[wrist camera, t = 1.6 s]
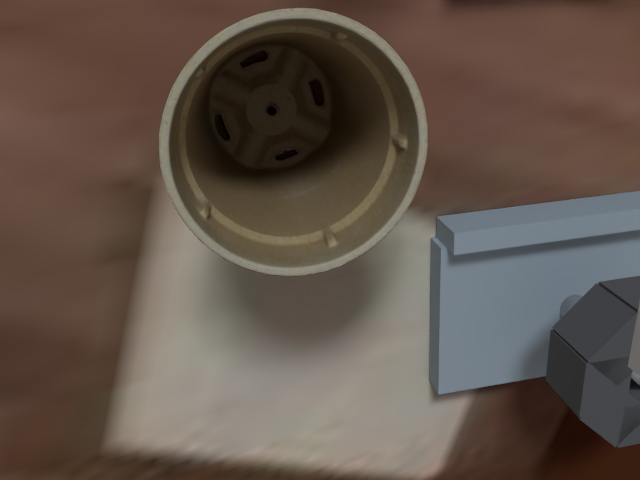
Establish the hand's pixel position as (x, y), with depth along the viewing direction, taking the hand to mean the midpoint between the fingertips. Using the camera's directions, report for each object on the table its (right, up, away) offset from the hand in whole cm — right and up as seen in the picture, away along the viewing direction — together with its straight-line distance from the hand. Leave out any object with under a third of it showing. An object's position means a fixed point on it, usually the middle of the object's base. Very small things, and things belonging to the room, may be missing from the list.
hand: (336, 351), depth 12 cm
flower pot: (-3, +8, +17) cm, 19 cm away
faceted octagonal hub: (+15, -3, +19) cm, 25 cm away
